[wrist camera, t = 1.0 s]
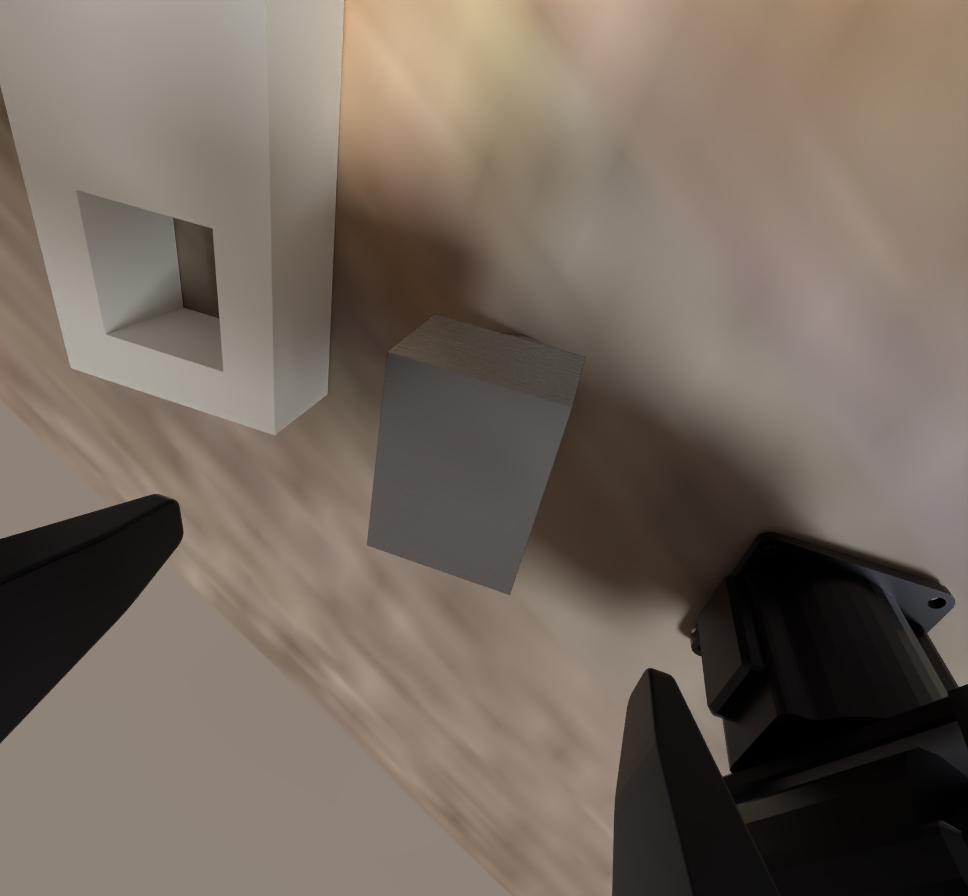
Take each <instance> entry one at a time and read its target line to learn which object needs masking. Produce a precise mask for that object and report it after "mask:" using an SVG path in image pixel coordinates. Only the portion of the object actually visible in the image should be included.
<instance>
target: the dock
mask: <svg viewBox="0 0 968 896" xmlns="http://www.w3.org/2000/svg"><path fill="white" fill-rule="evenodd" d="M343 19H344V0H0V86H1V90H2V94H3V98H4V102H5V106H6V110H7V114H8V118H9V122H10V126H11V130H12V134H13V138H14V142H15V146H16V150H17V154H18V158H19V162H20V166H21V170H22V174H23V178H24V182H25V186H26V190H27V194H28V198H29V202H30V206H31V210H32V214H33V218H34V222H35V226H36V230H37V234H38V238H39V242H40V246H41V250H42V254H43V258H44V262H45V266H46V270H47V274H48V278H49V282H50V286H51V290H52V294H53V298H54V302H55V306H56V310H57V314H58V318H59V322H60V326H61V330H62V334H63V338H64V342H65V346H66V350H67V354H68V358H69V362H70V366H71V368H72V369H75V370H78V371H81V372H84V373H87V374H90V375H93V376H96V377H99V378H102V379H105V380H108V381H111V382H114V383H117V384H120V385H123V386H126V387H129V388H132V389H135V390H139V391H142V392H145V393H148V394H151V395H154V396H157V397H160V398H163V399H166V400H169V401H172V402H175V403H178V404H181V405H184V406H187V407H190V408H193V409H196V410H199V411H202V412H205V413H208V414H211V415H214V416H217V417H220V418H223V419H226V420H229V421H233V422H236V423H239V424H242V425H245V426H248V427H251V428H254V429H257V430H260V431H263V432H266V433H269V434H272V435H276V434H278V433H279V432H280V431H281V430H283V429H284V428H285V427H287V426H288V425H289V424H290V423H292V422H293V421H294V420H296V419H297V418H298V417H299V416H301V415H302V414H303V413H304V412H306V411H307V410H308V409H310V408H311V407H312V406H313V405H315V404H316V403H317V402H319V401H320V400H321V399H322V398H324V397H325V396H326V395H327V394H328V375H329V351H330V327H331V304H332V280H333V256H334V232H335V209H336V185H337V161H338V137H339V114H340V90H341V66H342V43H343ZM173 218H177V219H180V220H184V221H187V222H191V223H195V224H198V225H202V226H205V227H209V228H212V229H213V241H214V254H215V267H216V280H217V293H218V306H219V318H216V317H213V316H210V315H206V314H203V313H200V312H197V311H193V310H190V309H187V308H184V307H183V300H182V292H181V283H180V274H179V265H178V257H177V248H176V239H175V230H174V222H173Z"/></svg>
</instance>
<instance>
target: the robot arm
mask: <svg viewBox="0 0 968 896" xmlns="http://www.w3.org/2000/svg"><path fill="white" fill-rule="evenodd" d="M182 537H183V525H182V518H181V512H180V506H179V504H178V502H177V501H176V500H174V499H171V498H169V497H166V496H163V495H159V494H153V495H149V496H145V497H142V498H139V499H135V500H132V501H128V502H125V503H122V504H118V505H115V506H111V507H108V508H105V509H101V510H98V511H94V512H91V513H88V514H84V515H81V516H77V517H74V518H70V519H67V520H64V521H61V522H57V523H54V524H50V525H47V526H43V527H40V528H36V529H33V530H30V531H26V532H23V533H20V534H16V535H12V536H9V537H6V538H2V539H0V743H1V742H2V741H3V740H4V739H5V738H6V737H7V736H8V735H9V734H10V733H11V732H12V731H13V730H14V728H15V727H16V726H17V725H18V724H19V723H20V722H21V721H22V720H23V719H24V718H25V717H26V716H27V715H28V714H29V713H30V712H31V711H32V710H33V709H34V707H36V705H37V704H38V703H39V702H40V701H41V700H42V699H43V698H44V697H45V696H46V695H47V694H48V693H49V692H50V691H51V690H52V689H53V688H54V687H55V686H56V684H57V683H58V682H59V681H60V680H61V679H62V678H63V677H64V676H65V675H66V674H67V673H68V672H69V671H70V670H71V669H72V668H73V666H75V664H77V662H78V661H79V660H80V659H81V658H82V657H83V656H84V655H85V654H86V653H87V652H88V651H89V650H90V649H91V648H92V646H94V645H95V644H96V643H97V641H98V640H99V639H100V638H101V637H102V636H103V635H104V634H105V633H106V632H107V631H108V630H109V629H110V628H111V627H112V626H113V625H114V624H115V623H116V621H117V620H118V619H119V618H120V617H121V616H122V615H123V614H124V613H125V612H126V611H127V609H128V608H129V607H130V606H131V605H132V603H133V602H134V601H135V600H136V599H137V597H138V596H139V595H140V594H141V592H142V591H143V590H144V588H145V587H146V586H147V585H148V583H149V582H150V581H151V580H152V578H153V577H154V576H155V574H156V573H157V572H158V571H159V569H160V568H161V567H162V566H163V564H164V563H165V562H166V561H167V559H168V558H169V557H170V556H171V554H172V553H173V552H174V550H175V549H176V548H177V547H178V545H179V544H180V542H181V540H182ZM768 545H776V546H775V547H774V548H771V549H766V548H765V547H766V546H768ZM932 598H937V599H936V600H931V599H932ZM954 605H955V599H954V598H953V596H952V595H951V593H950V592H949V590H948V589H947V588H946V587H944V586H942V585H940V584H937V583H934V582H931V581H927V580H924V579H921V578H918V577H915V576H912V575H908V574H905V573H902V572H899V571H896V570H893V569H889V568H886V567H883V566H880V565H877V564H874V563H870V562H867V561H864V560H861V559H858V558H855V557H851V556H848V555H845V554H842V553H839V552H835V551H832V550H829V549H826V548H823V547H820V546H816V545H813V544H810V543H807V542H804V541H801V540H797V539H794V538H791V537H788V536H785V535H782V534H778V533H774V532H765V533H762V534H760V535H758V536H757V537H756V538H755V539H754V541H753V542H752V544H751V545H750V547H749V549H748V550H747V552H746V553H745V555H744V556H743V558H742V559H741V561H740V562H739V564H738V565H737V567H736V569H735V570H734V572H733V573H732V574H729V575H727V576H726V577H724V578H723V579H722V581H721V583H720V584H719V586H718V587H717V589H716V590H715V592H714V593H713V595H712V597H711V598H710V600H709V601H708V603H707V604H706V606H705V607H704V609H703V611H702V612H701V614H700V615H699V617H698V619H697V622H698V627H697V629H696V630H695V632H694V633H693V635H692V636H691V648H692V651H693V652H694V653H695V654H697V655H699V656H702V664H703V672H704V681H705V689H706V697H707V705H708V708H709V709H710V711H711V713H712V714H713V715H714V716H717V717H720V718H722V719H723V726H724V733H725V740H726V747H727V754H728V761H729V768H730V771H731V774H728V775H726V776H723V777H722V775H721V773H720V771H719V769H718V767H717V765H716V763H715V761H714V759H713V757H712V755H711V753H710V751H709V749H708V747H707V745H706V742H705V740H704V738H703V736H702V734H701V732H700V730H699V728H698V726H697V724H696V722H695V720H694V718H693V716H692V714H691V712H690V710H689V708H688V706H687V704H686V702H685V700H684V698H683V696H682V693H681V691H680V689H679V687H678V685H677V683H676V681H675V679H674V678H673V677H672V676H671V675H669V674H667V673H664V672H661V671H658V670H656V669H653V668H648V669H647V670H645V672H644V673H643V675H642V677H641V678H640V680H639V682H638V683H637V685H636V687H635V688H634V690H633V692H632V694H631V696H630V698H629V701H628V706H627V712H626V719H625V727H624V734H623V742H622V749H621V757H620V764H619V772H618V779H617V787H616V796H615V810H614V843H613V884H612V896H968V684H967V685H964V686H961V687H958V685H957V683H956V682H955V680H954V678H953V677H952V675H951V673H950V671H949V670H948V668H947V666H946V665H945V663H944V661H943V660H942V658H941V656H940V655H939V653H938V651H937V650H936V648H935V646H934V644H933V643H932V641H931V639H930V638H929V636H928V634H927V633H928V632H929V631H930V630H931V629H932V628H933V627H934V626H935V625H936V624H937V623H938V622H939V621H940V620H941V619H942V618H943V617H944V616H945V615H946V614H947V613H948V612H949V611H950V610H951V609H952V608H953V607H954Z"/></svg>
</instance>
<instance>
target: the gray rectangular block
mask: <svg viewBox="0 0 968 896" xmlns="http://www.w3.org/2000/svg"><path fill="white" fill-rule="evenodd" d="M584 361H585V357H583V356H579V355H576V354H572V353H569V352H565V351H562V350H559V349H555V348H552V347H548V346H545V345H542V344H541V343H540V342H538V341H537V340H535V339H533V338H531V337H528V336H524V335H520V334H503V333H500V332H496V331H493V330H489V329H486V328H482V327H479V326H476V325H472V324H469V323H465V322H462V321H458V320H455V319H451V318H448V317H444V316H441V315H437V314H434V315H433V316H432V317H430V318H429V319H428V320H427V321H425V322H424V323H423V324H422V325H420V326H419V327H418V328H417V329H415V330H414V331H413V332H412V333H410V334H409V335H408V336H407V337H405V338H404V339H403V340H402V341H400V342H399V343H398V344H397V345H395V346H394V347H393V348H392V349H390V350H389V351H388V353H387V362H386V371H385V381H384V390H383V399H382V409H381V418H380V428H379V437H378V446H377V456H376V465H375V474H374V484H373V493H372V502H371V512H370V521H369V531H368V540H367V545H368V546H370V547H373V548H376V549H379V550H382V551H385V552H388V553H391V554H393V555H396V556H399V557H402V558H405V559H408V560H411V561H414V562H416V563H419V564H422V565H425V566H428V567H431V568H434V569H436V570H439V571H442V572H445V573H448V574H451V575H454V576H457V577H459V578H462V579H465V580H468V581H471V582H474V583H477V584H480V585H482V586H485V587H488V588H491V589H494V590H497V591H500V592H503V593H505V594H508V595H510V593H511V590H512V587H513V584H514V581H515V578H516V575H517V572H518V569H519V566H520V563H521V560H522V557H523V554H524V551H525V548H526V545H527V542H528V539H529V536H530V533H531V530H532V527H533V524H534V521H535V518H536V515H537V512H538V509H539V506H540V503H541V500H542V497H543V494H544V491H545V488H546V485H547V482H548V479H549V476H550V473H551V470H552V467H553V464H554V461H555V458H556V455H557V452H558V449H559V446H560V443H561V439H562V436H563V433H564V430H565V427H566V424H567V421H568V418H569V415H570V412H571V409H572V406H573V402H574V399H575V395H576V391H577V387H578V383H579V380H580V376H581V372H582V368H583V365H584Z"/></svg>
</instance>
